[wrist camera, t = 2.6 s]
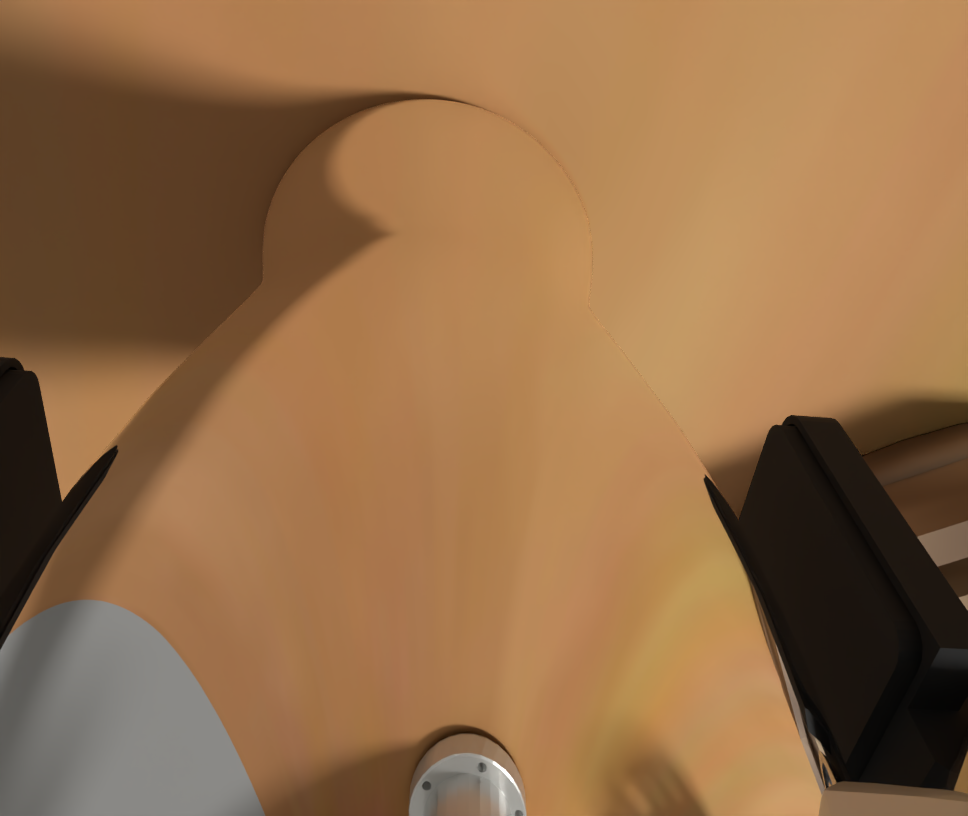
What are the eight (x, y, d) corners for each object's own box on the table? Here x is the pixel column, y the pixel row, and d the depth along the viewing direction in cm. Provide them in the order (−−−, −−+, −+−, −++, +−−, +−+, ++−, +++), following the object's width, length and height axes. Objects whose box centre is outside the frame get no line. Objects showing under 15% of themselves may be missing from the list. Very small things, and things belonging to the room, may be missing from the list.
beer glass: (356, 461, 19) (156, 1701, 6) (164, 173, 15) (-1162, 1702, 3) (662, 342, 17) (1194, 1634, 5) (530, -6, 14) (1236, 1461, 1)
